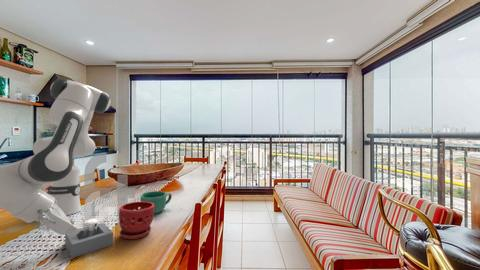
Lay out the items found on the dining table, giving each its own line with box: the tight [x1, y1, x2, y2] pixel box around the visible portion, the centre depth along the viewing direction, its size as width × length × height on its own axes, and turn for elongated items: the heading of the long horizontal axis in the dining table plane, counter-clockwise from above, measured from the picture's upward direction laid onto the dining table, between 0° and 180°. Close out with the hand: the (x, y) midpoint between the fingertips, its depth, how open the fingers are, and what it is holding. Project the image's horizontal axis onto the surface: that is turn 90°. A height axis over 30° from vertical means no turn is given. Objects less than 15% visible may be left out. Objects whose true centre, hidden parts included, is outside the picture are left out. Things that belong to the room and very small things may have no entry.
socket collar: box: [64, 222, 114, 259], centre depth 76 cm, size 12×12×4 cm
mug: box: [140, 190, 172, 215], centre depth 111 cm, size 17×13×10 cm
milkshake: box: [81, 217, 99, 238], centre depth 76 cm, size 4×5×10 cm
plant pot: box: [118, 201, 155, 240], centre depth 85 cm, size 13×13×12 cm
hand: (74, 228), depth 72 cm, fingers open, 8 cm apart
